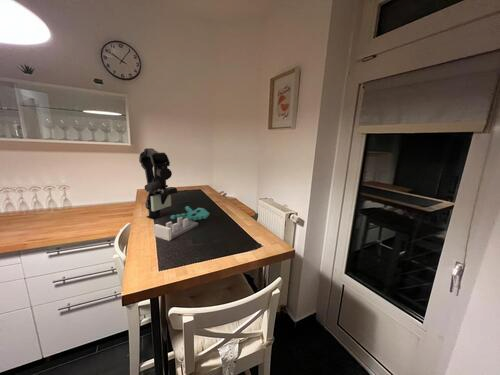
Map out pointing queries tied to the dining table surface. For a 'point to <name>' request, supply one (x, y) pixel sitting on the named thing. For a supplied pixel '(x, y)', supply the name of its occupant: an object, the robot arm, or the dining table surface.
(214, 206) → the dining table surface
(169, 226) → the hinge base
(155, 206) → the cabinet door
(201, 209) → the alien figure
